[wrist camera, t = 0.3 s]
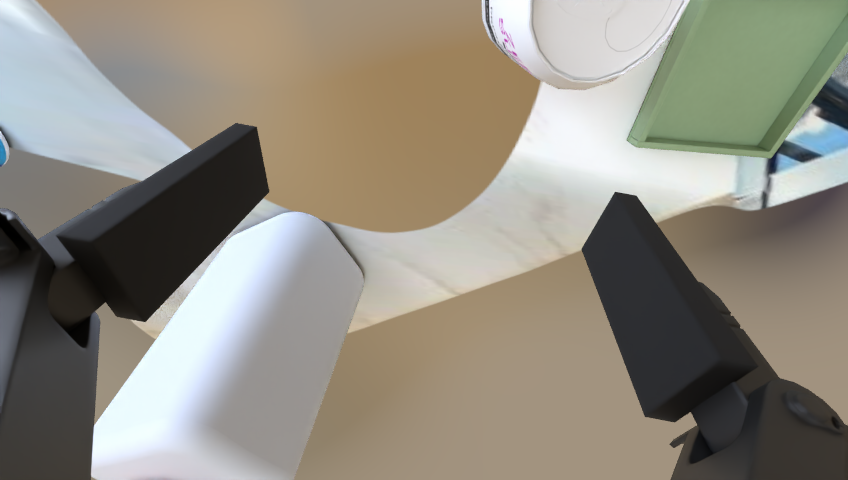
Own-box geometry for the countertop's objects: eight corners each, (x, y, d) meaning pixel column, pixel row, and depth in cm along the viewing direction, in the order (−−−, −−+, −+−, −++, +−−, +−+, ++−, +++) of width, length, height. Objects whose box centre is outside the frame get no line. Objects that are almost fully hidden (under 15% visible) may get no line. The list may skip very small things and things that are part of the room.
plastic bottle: (215, 239, 42) (-43, 516, 20) (311, 196, 38) (125, 484, 15) (291, 313, 50) (169, 572, 27) (377, 284, 46) (318, 561, 23)
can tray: (700, -29, 25) (717, -31, 24) (868, -14, 26) (895, -15, 24) (626, 140, 33) (635, 147, 32) (756, 151, 33) (771, 158, 32)
